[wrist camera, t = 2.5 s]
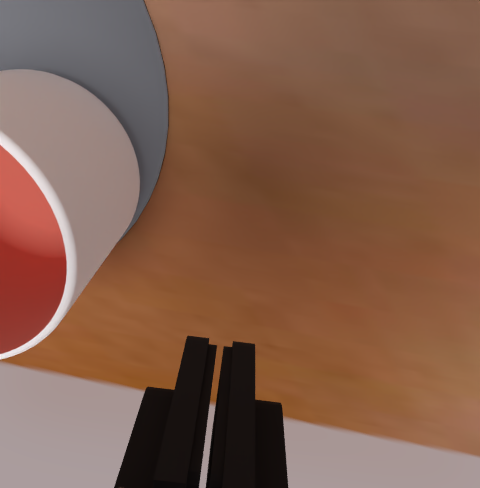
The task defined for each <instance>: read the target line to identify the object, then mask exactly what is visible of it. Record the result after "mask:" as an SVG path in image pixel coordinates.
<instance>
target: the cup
mask: <svg viewBox="0 0 480 488" xmlns="http://www.w3.org/2000/svg"><path fill="white" fill-rule="evenodd" d="M139 192H140V175H139V167H138V162H137V158H136V154H135V151H134V148H133V146H132V144H131V141H130V139H129V137H128V135H127V133H126V131H125V130H124V128H123V126H122V125H121V123H120V122H119V121H118V119H117V118H116V116H115V115H114V114H113V113H112V112H111V111H110V109H109V108H108V107H107V106H106V105H105V104H104V103H103V102H102V101H100V100H99V99H98V98H97V97H96V96H95V95H93V94H92V93H90V92H89V91H88V90H86V89H85V88H83V87H81V86H80V85H78V84H76V83H74V82H72V81H70V80H68V79H65V78H63V77H60V76H57V75H55V74H52V73H48V72H43V71H37V70H30V69H14V70H4V71H0V359H4V358H8V357H11V356H14V355H17V354H19V353H21V352H24V351H26V350H28V349H29V348H31V347H33V346H35V345H36V344H38V343H39V342H41V341H42V340H43V339H44V338H46V337H47V336H48V335H49V334H50V333H51V332H52V331H53V330H54V329H55V328H56V327H57V326H58V324H59V323H60V322H61V320H62V319H63V318H64V316H65V315H66V313H67V312H68V311H69V309H70V308H71V306H72V305H73V304H74V302H75V301H76V299H77V298H78V297H79V295H80V294H81V292H82V291H83V290H84V288H85V287H86V285H87V284H88V283H89V281H90V280H91V278H92V277H93V276H94V274H95V273H96V271H97V270H98V269H99V267H100V266H101V264H102V263H103V262H104V260H105V259H106V257H107V256H108V255H109V253H110V252H111V250H112V249H113V248H114V246H115V245H116V243H117V242H118V241H119V239H120V238H121V237H122V235H123V234H124V232H125V231H126V229H127V228H128V226H129V224H130V222H131V221H132V218H133V216H134V213H135V211H136V207H137V203H138V199H139Z"/></svg>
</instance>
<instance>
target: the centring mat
mask: <svg viewBox="0 0 480 488" xmlns="http://www.w3.org/2000/svg"><path fill="white" fill-rule="evenodd" d="M14 69H30V70H37V71H43V72H48V73H52V74H55V75H57V76H60V77H63V78H65V79H68V80H70V81H72V82H74V83H76V84H78V85H80V86H81V87H83V88H85V89H86V90H88V91H89V92H90V93H92V94H93V95H95V96H96V97H97V98H98V99H99V100H100V101H102V102H103V103H104V104H105V105H106V106H107V107H108V108H109V109H110V111H111V112H112V113H113V114H114V115H115V116H116V118H117V119H118V121H119V122H120V123H121V125H122V126H123V128H124V130H125V131H126V133H127V135H128V137H129V139H130V141H131V144H132V146H133V148H134V151H135V154H136V158H137V162H138V167H139V175H140V192H139V199H138V203H137V207H136V211H135V213H134V216H133V218H132V221H131V222H130V224H129V226H128V228H127V229H126V231H125V232H124V234H123V235H122V237H121V238H120V239H119V241H120V240H121V239H122V238H123V237H124V235H125V234H126V233H127V232H128V231H129V229H130V228H131V227H132V226H133V225H134V223H135V222H136V221H137V219H138V218H139V216H140V214H141V213H142V211H143V209H144V208H145V206H146V204H147V203H148V201H149V199H150V197H151V194H152V192H153V189H154V187H155V185H156V182H157V180H158V177H159V174H160V170H161V166H162V162H163V158H164V155H165V148H166V140H167V132H168V91H167V83H166V76H165V68H164V63H163V59H162V55H161V51H160V47H159V43H158V39H157V35H156V32H155V29H154V27H153V24H152V21H151V19H150V16H149V13H148V11H147V8H146V6H145V3H144V0H0V71H4V70H14ZM119 241H118V242H119ZM118 242H117V243H118ZM117 243H116V244H117Z"/></svg>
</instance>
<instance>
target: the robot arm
mask: <svg viewBox="0 0 480 488" xmlns="http://www.w3.org/2000/svg"><path fill="white" fill-rule="evenodd" d="M216 349H217V345H210V344H209V338H202V337H194V336H187V339H186V343H185V348H184V352H183V356H182V360H181V365H180V369H179V373H178V377H177V382H176V386H175V390H171V389H162V388H154V387H147V388H146V390H145V393H144V396H143V399H142V403H141V405H140V409H139V412H138V415H137V418H136V421H135V424H134V427H133V430H132V434H131V437H130V440H129V443H128V446H127V449H126V452H125V456H124V459H123V462H122V465H121V468H120V471H119V474H118V477H117V480H116V484H115V487H114V488H199V481H200V474H201V466H202V458H203V451H204V443H205V435H206V427H207V419H208V411H209V404H210V396H211V388H212V380H213V372H214V365H215V357H216ZM206 488H288V479H287V466H286V452H285V439H284V426H283V412H282V405H281V403H278V402H270V401H261V400H255V344H251V343H243V342H235V341H233V345H232V347H226V346H224V349H223V356H222V364H221V371H220V378H219V386H218V393H217V400H216V407H215V415H214V422H213V429H212V438H211V446H210V456H209V464H208V473H207V482H206Z"/></svg>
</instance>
